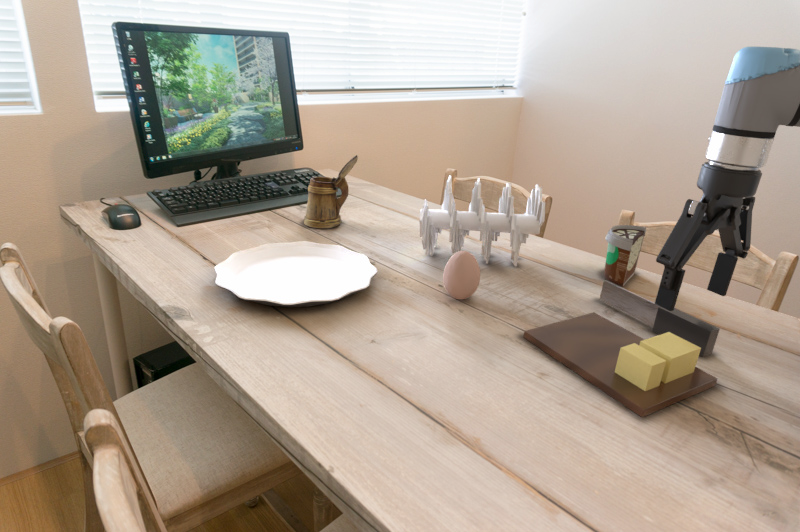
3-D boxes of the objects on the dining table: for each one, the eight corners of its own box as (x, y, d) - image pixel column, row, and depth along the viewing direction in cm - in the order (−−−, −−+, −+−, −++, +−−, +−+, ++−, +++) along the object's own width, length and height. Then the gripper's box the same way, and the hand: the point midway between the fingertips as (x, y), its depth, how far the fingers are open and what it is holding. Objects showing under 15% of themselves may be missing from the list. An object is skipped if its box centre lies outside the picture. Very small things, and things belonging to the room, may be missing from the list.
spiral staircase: (422, 262, 122) (533, 270, 119) (412, 255, 105) (542, 264, 101) (428, 184, 124) (538, 189, 120) (419, 165, 106) (547, 170, 102)
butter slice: (659, 385, 71) (666, 360, 70) (645, 391, 70) (652, 365, 68) (628, 367, 75) (634, 342, 74) (614, 372, 74) (620, 347, 72)
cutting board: (715, 385, 74) (718, 378, 74) (641, 417, 67) (644, 409, 66) (592, 318, 92) (594, 312, 91) (523, 337, 84) (524, 330, 84)
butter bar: (693, 372, 75) (701, 347, 74) (665, 383, 72) (672, 358, 70) (662, 355, 79) (669, 331, 78) (633, 365, 76) (640, 341, 74)
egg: (484, 303, 95) (490, 255, 92) (453, 308, 92) (458, 260, 89) (464, 288, 101) (469, 243, 97) (434, 293, 98) (438, 247, 94)
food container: (607, 263, 117) (616, 220, 113) (636, 271, 114) (647, 226, 110) (590, 280, 108) (599, 233, 104) (621, 288, 105) (632, 240, 101)
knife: (711, 353, 83) (720, 328, 81) (702, 357, 82) (710, 331, 80) (604, 299, 99) (609, 277, 98) (595, 301, 98) (600, 279, 96)
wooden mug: (348, 233, 126) (350, 158, 120) (297, 225, 130) (296, 151, 123) (362, 223, 134) (364, 152, 128) (313, 216, 138) (313, 146, 131)
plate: (184, 277, 98) (182, 265, 97) (307, 242, 119) (306, 232, 118) (283, 334, 81) (282, 320, 80) (406, 281, 102) (407, 270, 101)
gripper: (753, 156, 84) (714, 278, 92) (653, 163, 72) (618, 302, 80) (805, 166, 78) (758, 296, 86) (706, 175, 66) (662, 325, 74)
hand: (691, 299), depth 83 cm, fingers open, 13 cm apart
